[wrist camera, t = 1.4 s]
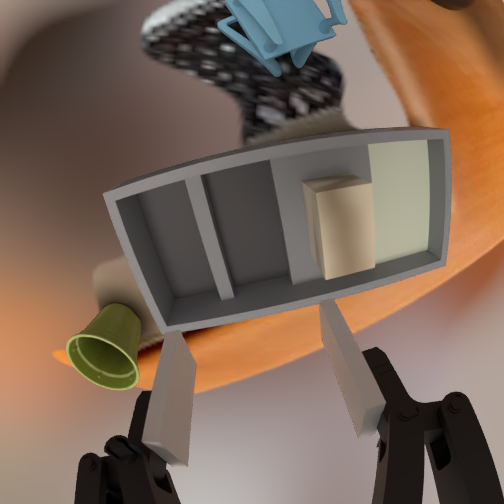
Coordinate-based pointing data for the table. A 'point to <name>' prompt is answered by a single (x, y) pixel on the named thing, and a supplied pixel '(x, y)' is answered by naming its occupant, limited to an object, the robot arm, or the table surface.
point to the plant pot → (108, 348)
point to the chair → (281, 28)
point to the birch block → (340, 223)
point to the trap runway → (278, 224)
